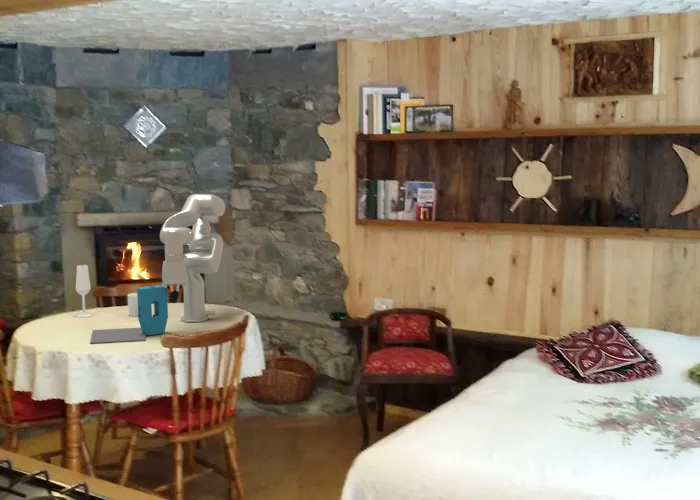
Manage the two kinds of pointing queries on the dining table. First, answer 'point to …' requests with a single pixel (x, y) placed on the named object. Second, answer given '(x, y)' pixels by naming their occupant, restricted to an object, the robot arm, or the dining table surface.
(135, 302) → the white cup
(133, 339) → the gray square mat
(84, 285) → the champagne flute
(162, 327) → the block
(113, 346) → the dining table surface
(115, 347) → the dining table surface
